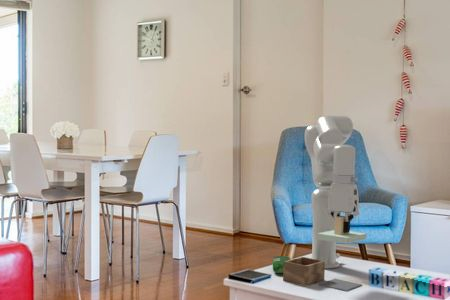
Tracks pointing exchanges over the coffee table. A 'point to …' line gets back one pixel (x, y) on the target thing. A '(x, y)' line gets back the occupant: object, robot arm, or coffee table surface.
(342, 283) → the mat
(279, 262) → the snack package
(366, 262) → the coffee table surface
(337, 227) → the lid
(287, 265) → the box
